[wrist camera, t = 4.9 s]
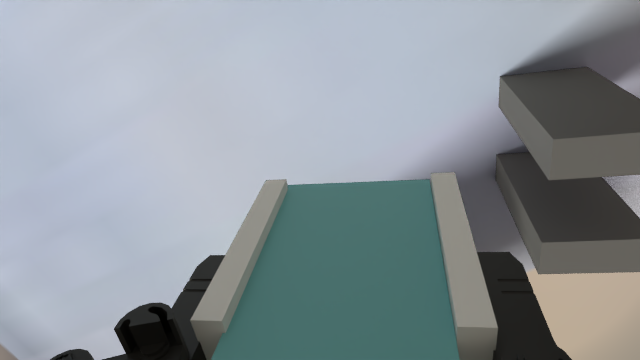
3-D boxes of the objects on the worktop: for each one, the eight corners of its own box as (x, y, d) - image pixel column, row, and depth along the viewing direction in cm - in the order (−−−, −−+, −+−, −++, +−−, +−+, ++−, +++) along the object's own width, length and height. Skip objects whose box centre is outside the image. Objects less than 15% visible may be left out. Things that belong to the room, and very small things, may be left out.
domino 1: (499, 76, 27) (553, 139, 18) (586, 66, 26) (687, 128, 17) (498, 106, 28) (548, 180, 19) (582, 98, 27) (676, 172, 18)
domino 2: (496, 154, 29) (541, 242, 21) (575, 148, 28) (658, 238, 20) (495, 179, 30) (538, 274, 21) (571, 174, 29) (649, 271, 20)
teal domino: (287, 184, 15) (151, 495, 7) (429, 179, 14) (488, 533, 6) (296, 230, 16) (185, 554, 8) (429, 227, 15) (481, 595, 7)
